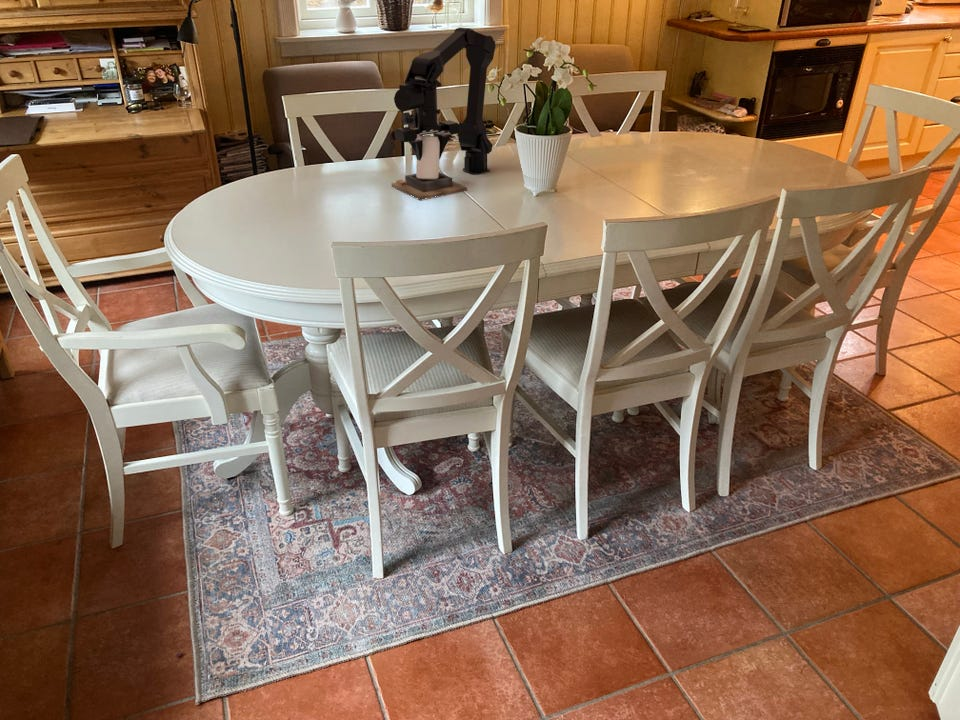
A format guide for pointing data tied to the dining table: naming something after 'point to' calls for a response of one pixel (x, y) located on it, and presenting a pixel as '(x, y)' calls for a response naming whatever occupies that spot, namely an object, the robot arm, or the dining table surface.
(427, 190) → the socket block
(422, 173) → the can
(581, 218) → the dining table surface
